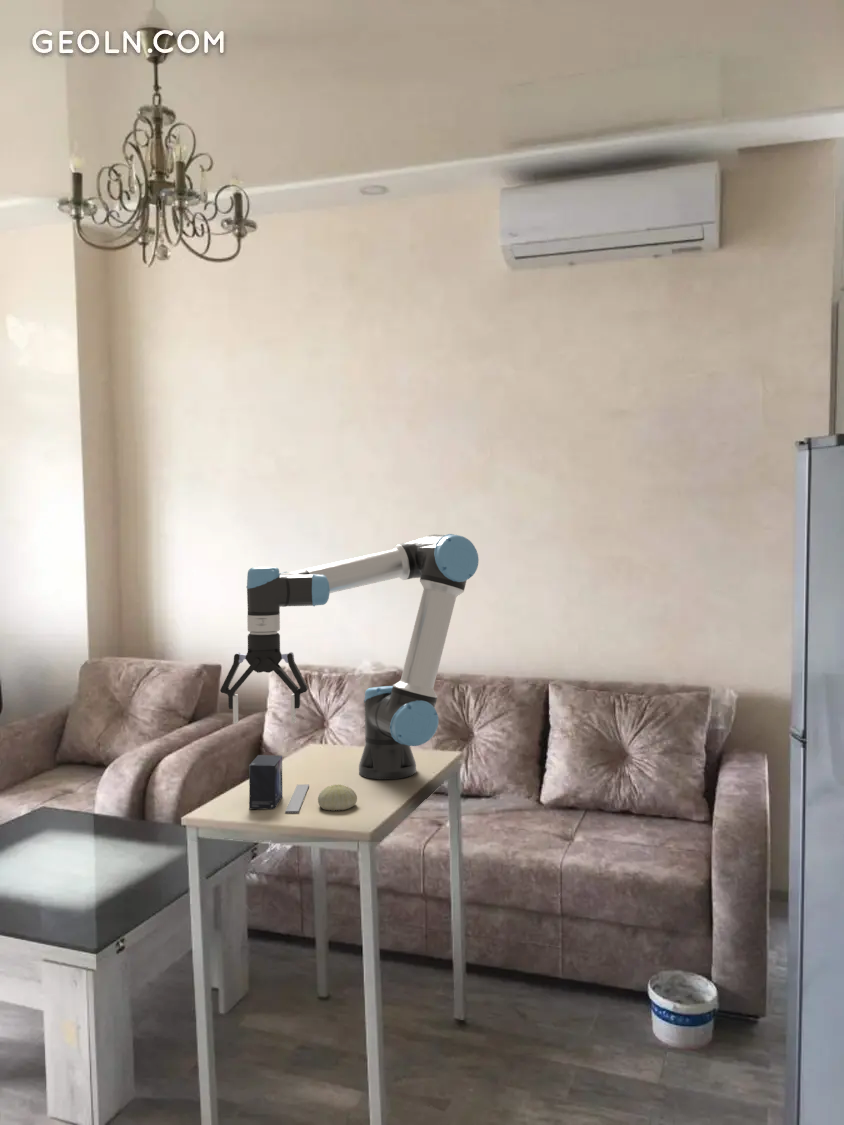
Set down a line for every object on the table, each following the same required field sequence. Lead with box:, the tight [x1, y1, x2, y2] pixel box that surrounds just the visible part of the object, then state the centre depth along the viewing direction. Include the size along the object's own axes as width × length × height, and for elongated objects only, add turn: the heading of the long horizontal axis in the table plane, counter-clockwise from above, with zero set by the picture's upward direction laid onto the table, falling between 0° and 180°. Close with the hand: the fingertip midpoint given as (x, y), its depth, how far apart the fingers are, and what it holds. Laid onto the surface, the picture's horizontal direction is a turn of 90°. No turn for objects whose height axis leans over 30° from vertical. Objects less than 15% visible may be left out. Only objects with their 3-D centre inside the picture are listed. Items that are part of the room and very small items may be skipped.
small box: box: [248, 754, 283, 810], centre depth 226 cm, size 11×6×10 cm, turn 179°
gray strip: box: [284, 783, 310, 814], centre depth 230 cm, size 3×23×1 cm, turn 1°
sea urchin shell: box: [317, 784, 358, 812], centre depth 223 cm, size 9×8×8 cm
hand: (264, 722), depth 226 cm, fingers open, 13 cm apart
